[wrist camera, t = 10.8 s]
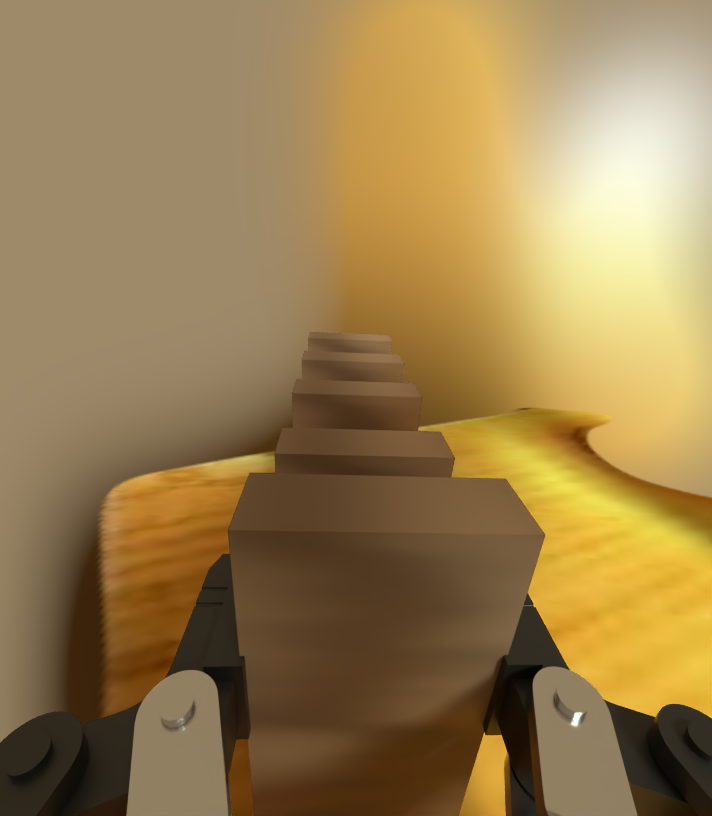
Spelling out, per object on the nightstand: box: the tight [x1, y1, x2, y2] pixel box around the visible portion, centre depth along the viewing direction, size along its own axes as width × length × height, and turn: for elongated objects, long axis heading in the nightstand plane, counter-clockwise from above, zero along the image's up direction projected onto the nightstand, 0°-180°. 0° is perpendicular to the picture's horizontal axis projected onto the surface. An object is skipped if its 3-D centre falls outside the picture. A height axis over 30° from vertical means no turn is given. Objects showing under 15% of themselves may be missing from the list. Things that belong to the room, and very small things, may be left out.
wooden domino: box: [302, 351, 404, 383], centre depth 22 cm, size 5×2×10 cm, turn 93°
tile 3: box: [292, 379, 422, 431], centre depth 18 cm, size 5×2×10 cm, turn 93°
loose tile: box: [228, 473, 545, 816], centre depth 9 cm, size 5×2×10 cm, turn 93°
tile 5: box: [308, 332, 392, 354], centre depth 26 cm, size 5×2×10 cm, turn 93°
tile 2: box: [275, 428, 455, 478], centre depth 13 cm, size 5×2×10 cm, turn 93°
